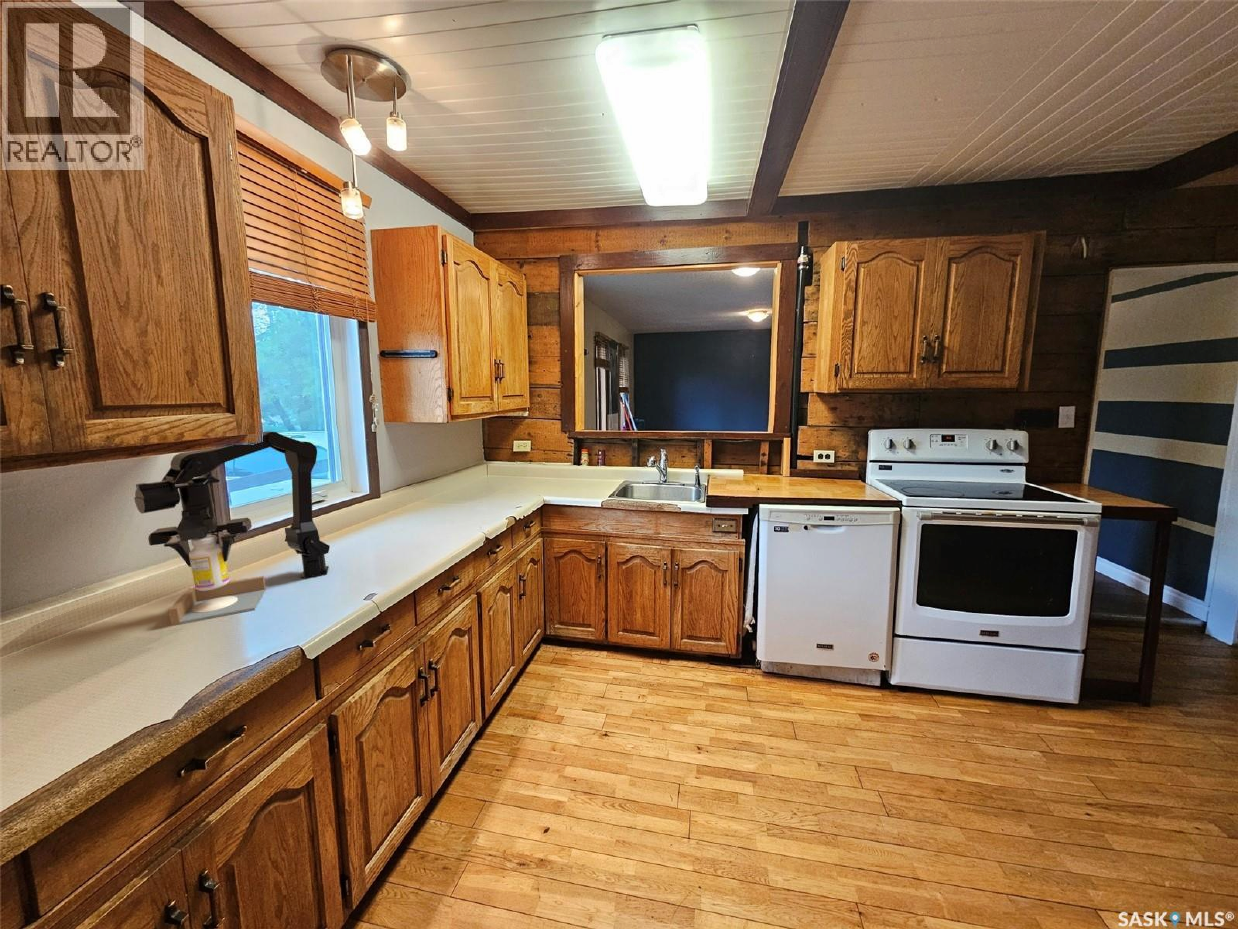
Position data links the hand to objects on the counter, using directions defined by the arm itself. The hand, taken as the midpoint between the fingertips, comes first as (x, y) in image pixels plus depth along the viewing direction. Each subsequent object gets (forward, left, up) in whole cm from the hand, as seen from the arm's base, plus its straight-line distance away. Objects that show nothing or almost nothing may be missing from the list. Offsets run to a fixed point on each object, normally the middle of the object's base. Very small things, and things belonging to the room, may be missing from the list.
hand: (208, 563), depth 120 cm
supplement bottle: (0, 0, -6) cm, 6 cm away
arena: (+1, +1, -12) cm, 12 cm away
